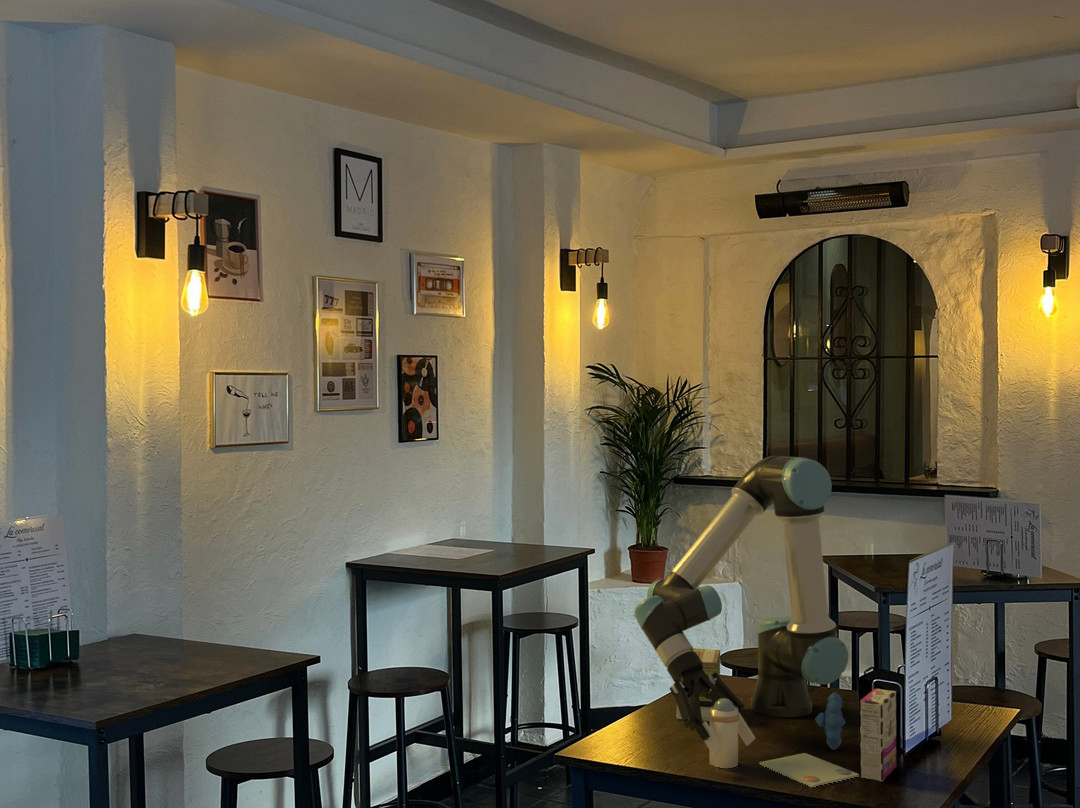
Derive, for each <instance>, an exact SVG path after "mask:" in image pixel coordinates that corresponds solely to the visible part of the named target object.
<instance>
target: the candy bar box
mask: <svg viewBox="0 0 1080 808" xmlns="http://www.w3.org/2000/svg"><path fill="white" fill-rule="evenodd" d="M859 717H860V718H859V723H860V725H859V728H860V729H859V734H860V736H859V737H860V738H859V740H860V745H859V746H860V752H859V753H860V772H859V773H860V778H861V779H863V778H866V779H865V780H868V779H870V780H869V781H876V782H882V783H883V782H884V781H885V780H886V779H887V778H888V777H889V775H891V773H893V771H895V769H896V768H897V691H896V690H889V689H881V688H874V689H872V691H870V692H869V693H868V694H867V695H866V696H864V697H863V698H862V699H860V701H859Z"/></svg>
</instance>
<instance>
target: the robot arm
mask: <svg viewBox="0 0 1080 808" xmlns="http://www.w3.org/2000/svg"><path fill="white" fill-rule="evenodd" d="M832 485H833V484H832V480H831V476H830V474H829V472H828V470H827V469H826V468H825V466H823V464H821V463H820V462H819V461H816V460H814V459H810V458H807V457H804V456H799V457H798V456H786V455H785V456H783V455H770V456H768V457H767V456H766V457H764V458H763V459H761V460H759V461H757V462H756V463H755V464H754V465H752V466H751V467H750V468H749V469H748V470H747V471H746V472H745V473H744V474H743V475H742V477H741V478H740V479H739V480H738V481H737V482H736V484H734V486H733V487H732V488H731V496H730V498H729V499H728V500H727V501H726V502H725V504H724V505H723V506H722V508H721V509H720V510H719V512H717V514H716V515H715V516H714V518H712V520H711V521H710V523H708V525H707V526H706V527H705V528H704V530H703V531H702V532H701V534H700V535H699V536H698V537H697V539H695V541H694V543H692V545H691V546H690V547H689V549H687V551H686V552H685V553H684V555H683V556H682V557H681V558H680V560H679V561H678V562H677V563H676V565H675V566H674V567H673V568H672V569H671V571H670V572H669V573H667V574H668V575H667V576H666V577H665V578H664V579H658V580H655V581H653V582H652V583H651V584H650V585H649V587H648V588H647V592H646V597H645V599H643V600H641V601H640V602H639V603H638V604H637V605H636V607H635V609H634V612H633V613H634V617H635V618H636V621H637V623H638V626H639V627H640V629H641V631H642V632H643V633H644V635H645V636H646V638H647V640H648V641H649V643H650V644H651V645H652V648H653V649H654V650H655V652H656V654H657V656H658V658H659V659H660V660H661V662H662V663H663V665H664V667H665V668H666V671H667V672H668V674H669V675H670V677H671V679H672V680H673V682H674V683H673V684H672V685H671V686H670V687H669V690H670V692H671V694H672V695H673V697H674V699H675V702H676V706H677V705H678V708H679V711H680V714H681V717H682V719H681V720H682V723H683V725H684V727H685V728H689V730H691V731H696V732H697V734H698V736H699V738H700V739H701V741H702V742H704V743H705V745H706V746H707V748H708V749H709V752H710V751H711V753H712V755H713V756H714V755H716V754H717V753H718V752H719V751H720V750H721V749H722V746H721V745H720V743H719V742H718V740H717V738H716V737H715V735H714V733H713V732H712V730H711V729H710V724H709V723H708V721H702V715H701V708H700V701H699V697H705V698H706V699H710V700H711V701H713V702H714V703H716V701H717V700H719V699H721V698H726V699H729V700H730V701H731V702H732V703H733V705H734V707H736V708H738V713H739V720H738V736H740V738H741V739H742V741H743V743H744V745H745V746H746V747H747V746H749V745H751V743H752V742H753V741H754V740H756V736H755V735H754V733H753V732H752V730H751V728H750V727H749V725H748V722H747V721H746V719H745V717H744V716H743V715H742V711H743V710H744V708H745V704H744V703H743V702H742V701H741V700H740V699H739V698H738V697H737V695H736V694H734V692H733V691H732V690H731V689H730V688H729V687H728V686H727V685H726V684H725V682H723V680H722V679H721V676H720V677H719V675H718V674H717V673H716V672H715V673H713V674H712V675H709V676H708V675H707V674H706V673H705V672H704V671H703V663H702V661H701V660H700V658H699V657H698V655H697V654H696V652H694V651H693V650H694V649H693V648H694V647H693V645H692V644H691V642H690V641H689V639H688V637H687V636H686V635H685V633H684V632H685V631H687V630H689V629H691V628H694V627H696V626H699V625H701V624H703V623H706V622H707V621H708V622H709V621H711V620H713V619H714V618H716V617H717V616H719V615H720V614H721V613H722V611H723V604H722V601H721V597H720V595H719V593H718V591H717V590H716V589H715V588H714V586H712V585H709V584H706V585H702V583H704V581H705V579H707V577H708V576H709V575H710V573H711V572H712V571H713V570H714V568H715V567H716V566H717V565H718V564H719V562H720V561H721V559H722V558H723V557H724V556H725V555H726V553H727V552H728V551H729V550H730V548H731V547H732V546H733V545H734V544H735V543H736V541H737V540H738V538H740V536H741V535H742V534H743V532H744V531H745V530H746V529H747V527H748V526H749V525H750V523H752V521H753V520H754V519H755V517H756V516H759V515H763V514H764V512H766V510H767V509H768V508H770V507H771V506H772V505H773V506H774V507H773V508H774V516H775V518H778V520H779V521H780V522H781V524H782V531H783V533H782V534H783V542H784V552H785V560H786V561H785V563H786V571H787V582H788V590H789V602H790V610H791V611H790V613H791V616H790V617H789V616H788V617H782V616H781V617H769V618H764V619H761V620H760V621H759V623H758V633H757V641H758V642H757V644H758V645H757V648H758V649H757V650H758V651H757V657H758V658H757V665H758V666H757V669H758V672H757V680H756V682H755V687H754V690H753V693H752V696H751V698H750V709H751V710H754V711H753V712H755V713H758V714H761V715H764V716H770V717H776V718H800V717H806V716H809V715H810V714H812V713H813V700H812V699H811V695H810V692H809V691H810V690H809V689H808V685H807V682H809V683H811V684H812V683H813V684H817V685H822V686H823V685H829V684H832V683H834V682H835V681H837V680H838V679H840V677H841V676H842V674H843V673H845V671H846V669H847V666H848V663H849V652H848V651H849V650H848V647H847V645H846V644H845V643H844V642H843V641H842V640H841V639H840V638H838V633H837V624H836V622H834V620H832V618H830V617H829V608H828V598H827V587H826V578H825V569H824V567H825V566H824V558H823V557H824V556H823V548H822V540H821V539H822V537H821V529H820V527H821V526H820V518H821V517H822V516H823V515H824V514H825V505H826V504H827V502H828V500H829V499H828V498H829V497H831V493H832V487H833V486H832ZM701 585H702V586H701ZM806 681H807V682H806ZM710 689H711V691H710ZM709 691H710V692H709ZM708 692H709V693H708ZM688 718H689V719H688Z"/></svg>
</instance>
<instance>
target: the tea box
mask: <svg viewBox="0 0 1080 808" xmlns="http://www.w3.org/2000/svg"><path fill="white" fill-rule="evenodd" d="M693 649H694V650H693V651H694V652H696V654H697V655H698V657H699V658H700V660H701V661H702V663H703V671H704V672H705V673H706V674H707V675H708V676H709V675H712V674H713V673H715V672H716V673H717V674H718V675H719V677H720V678H721V650H720V649H711V648H695V647H693ZM710 691H711V689H710ZM710 691H709V692H710ZM709 692H708V693H709ZM699 701H700V708H701V715H702V722H710V718H709V712H710V707H711V706H714V704H715V703H714V702H713V701H711V700H710V699H706V698H705V697H699ZM676 719H677V720H682V717H681V714H680V711H679V708H678V705H677V704H676ZM688 719H689V718H688Z"/></svg>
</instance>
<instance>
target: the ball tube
mask: <svg viewBox="0 0 1080 808" xmlns="http://www.w3.org/2000/svg"><path fill="white" fill-rule="evenodd" d="M709 718H710V721H709V727H710V729H711V730H712V732H713V733H714V735H715V737H716V738H717V740H718V742H719V743H720V745H721V746H722V749H721V750H720V751H719V752H718V753H717V754H716V755H714V756H713V755H712V753H711V751H710V750H709V765H710V764H711V765H713V766H715V767H720V768H733V767H736V766H738V765H739V733H738V720H739V713H738V708H736V707H734V705H733V703H732V702H731V701H730V700H729V699H726V698H721V699H719V700H717V701H716V703H715V704H714V706H711V707H710V712H709ZM738 767H739V766H738ZM736 768H737V767H736Z"/></svg>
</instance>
